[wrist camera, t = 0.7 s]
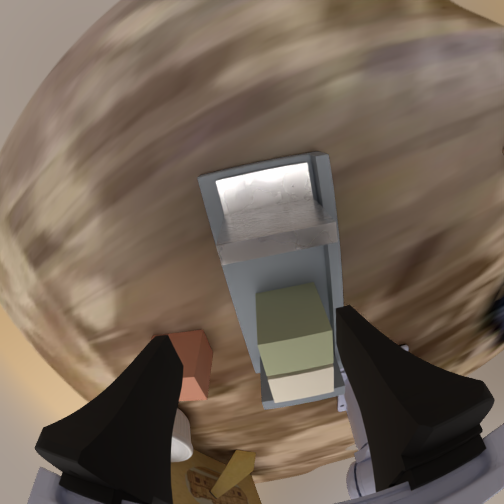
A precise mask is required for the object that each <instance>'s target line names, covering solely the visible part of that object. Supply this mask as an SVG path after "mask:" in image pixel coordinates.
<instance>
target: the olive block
mask: <svg viewBox="0 0 504 504" xmlns="http://www.w3.org/2000/svg"><path fill="white" fill-rule="evenodd" d="M255 299H256V322H257V345H258V349H259V352H260V355H261V359H262V362H263V366H264V369H265V372H266V376H272V375H278V374H284V373H289V372H294V371H300V370H305V369H309V368H314V367H319V366H323V365H328V364H332V363H334V362H333V334H332V328H331V325H330V323H329V320H328V317H327V315H326V312H325V309H324V307H323V304H322V302H321V299H320V296H319V294H318V291H317V289H316V286H315V284H314V282H311V283H306V284H302V285H297V286H292V287H287V288H282V289H277V290H272V291H267V292H261V293H256V294H255Z"/></svg>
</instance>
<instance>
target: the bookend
mask: <svg viewBox="0 0 504 504" xmlns="http://www.w3.org/2000/svg"><path fill="white" fill-rule="evenodd" d="M216 184H217V188H218V192H219V196H220V199H221V203H222V207H223V211H224V219H223V222H222V226H221V230H220V233H219V237H218V241H217V245H216V248H217V251H218V255H219V258H220V261H221V265H226V264H231V263H236V262H241V261H246V260H251V259H256V258H261V257H266V256H271V255H276V254H281V253H286V252H291V251H296V250H301V249H306V248H311V247H316V246H320V245H325V244H330V243H335V242H338V238H337V228H336V222H335V221H334V219H333V218H332V217H331V216H330V215H329V214H328V213H327V212H326V211H325V210H324V209H323V207H322V206H321V205H320V204H319V203H318V202H317V201H316V200H315V199H314V198H313V195H312V188H311V182H310V176H309V170H308V165H307V162H300V163H294V164H289V165H283V166H278V167H273V168H268V169H263V170H258V171H253V172H248V173H244V174H239V175H235V176H230V177H226V178H221V179H217V180H216Z"/></svg>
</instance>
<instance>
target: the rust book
mask: <svg viewBox="0 0 504 504" xmlns="http://www.w3.org/2000/svg"><path fill="white" fill-rule="evenodd" d="M163 335H168V336H169V338H170V340H171V342H172V344H173V346H174V348H175V350H176V352H177V354H178V356H179V358H180V360H181V362H182V364H183V366H184V368H183V382H182V389H181V393H180V398H179V401H192V400H207V398H208V389H209V381H210V373H211V365H212V358H213V352H212V349H211V347H210V345H209V342H208V340H207V338H206V335H205V333H204V331H203V330H195V331H188V332H180V333H172V334H163ZM155 336H158V335H154V336H152V339H153V338H154V337H155ZM152 339H151V340H152Z"/></svg>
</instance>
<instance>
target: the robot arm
mask: <svg viewBox="0 0 504 504" xmlns="http://www.w3.org/2000/svg"><path fill="white" fill-rule="evenodd" d="M336 344H337V348H338V352H339V356H340V359H341V363H342V365H343V369H340V371H341V374H342V377H343V380H344V383H345V394H343V395H339V396H338V408H337V409H338V411H339V412H342V411H347V415H348V418H349V422H350V426H351V429H352V433H353V437H354V440H355V444H356V447H357V448H358V450H359V451H357V452H355V453H354V455H355V459H356V461H355V462H353V463H352V464H351V465H350V467H349V470H348V472H347V478H346V481H347V489H348V492H349V495H350V498H351V500H348V501H344V502H340V503H335V504H484V503H485V502H486V501H488V500H489V499H490V498H491V497H493V496H494V495H495V494H497V493H498V492H499V491H501V490H502V489H503V488H504V423H503V424H502V425H501V426H500V427H498V428H497V429H495V430H494V431H492V432H491V433H490V434H488V435H487V436H486V437H484V438H483V439H482V437H481V436H480V433H481V432H482V428H481V426H480V423H481V421H482V420H483V419H484V418H485V416H486V415H487V414H488V412H489V411H490V409H491V408H492V406H493V404H494V398H493V396H492V394H491V393H490V391H489V389H488V388H487V386H486V385H485V384H484V382H483V381H481V380H476V379H473V378H469V377H465V376H461V375H458V374H455V373H452V372H449V371H446V370H444V369H441V368H439V367H437V366H435V365H432V364H430V363H428V362H426V361H424V360H422V359H420V358H418V357H416V356H415V355H413V354H411V353H410V352H408V349H409V348H408V346H407V345H403V346H399V345H397V344H396V343H394V342H393V341H392V340H390V339H389V338H388V337H386V336H385V335H384V334H382V333H381V332H380V331H379V330H378V329H376V328H375V327H374V326H373V325H372V324H370V323H369V322H368V321H367V320H366V319H365V318H364V317H362V316H361V315H360V314H359V313H358V312H357V311H356V310H355V309H354V308H353V307H352V306H350V305H348V306H343V307H339V308H336ZM183 368H184V366H183V364H182V362H181V360H180V358H179V356H178V354H177V352H176V350H175V348H174V346H173V344H172V342H171V340H170V338H169V336H168V335H158V336H155V337H154V338H153V339H152V340H151V341H150V342H149V343H148V345H147V346H146V347H145V348H144V349H143V350H142V351H141V353H140V354H139V355H138V356H137V357H136V358H135V359H134V361H133V362H132V363H131V364H130V365H129V366H128V367H127V368H126V369H125V370H124V371H123V372H122V374H121V375H120V376H119V377H118V378H117V379H116V380H115V381H114V382H113V383H112V384H111V385H110V386H109V387H107V388H106V389H105V390H104V391H103V392H102V393H100V394H99V395H98V396H97V397H96V398H94V399H93V400H92V401H90V402H89V403H87V404H86V405H85V406H83V407H82V408H80V409H79V410H77V411H76V412H74V413H72V414H71V415H69V416H67V417H65V418H63V419H61V420H59V421H57V422H55V423H53V424H51V425H48V426H46V427H44V428H43V429H42V432H41V434H40V436H39V439H38V441H37V443H36V446H35V450H36V451H37V453H38V454H39V455H41V456H42V457H43V458H44V459H45V460H47V461H48V462H49V463H51V464H52V465H53V466H55V467H56V468H58V469H59V470H61V471H62V472H63V473H62V476H59V475H58V474H56V473H54V472H51V471H49V470H47V469H45V468H43V467H40V468H39V471H38V473H37V476H36V479H35V482H34V485H33V488H32V491H31V494H30V497H29V500H28V503H27V504H173V497H172V486H171V445H172V433H173V426H174V421H175V417H176V412H177V407H178V403H179V398H180V393H181V389H182V382H183Z"/></svg>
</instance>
